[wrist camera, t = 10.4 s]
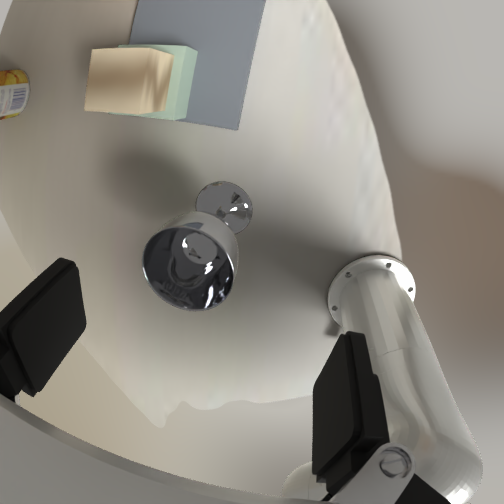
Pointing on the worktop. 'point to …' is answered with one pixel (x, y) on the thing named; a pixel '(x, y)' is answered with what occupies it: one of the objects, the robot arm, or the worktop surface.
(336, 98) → the worktop surface
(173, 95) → the sage slab
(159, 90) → the maple cube
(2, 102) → the canned food
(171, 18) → the building board
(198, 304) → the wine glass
